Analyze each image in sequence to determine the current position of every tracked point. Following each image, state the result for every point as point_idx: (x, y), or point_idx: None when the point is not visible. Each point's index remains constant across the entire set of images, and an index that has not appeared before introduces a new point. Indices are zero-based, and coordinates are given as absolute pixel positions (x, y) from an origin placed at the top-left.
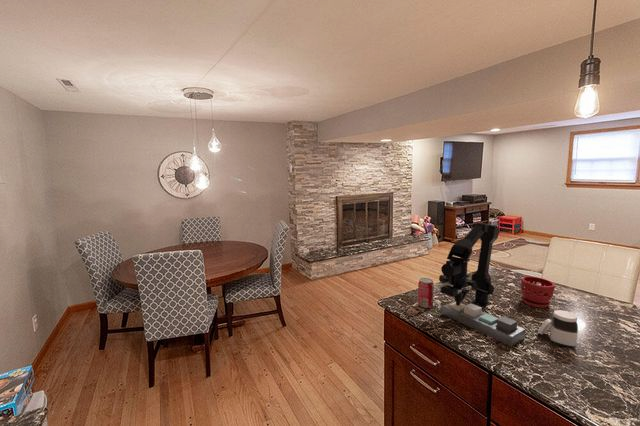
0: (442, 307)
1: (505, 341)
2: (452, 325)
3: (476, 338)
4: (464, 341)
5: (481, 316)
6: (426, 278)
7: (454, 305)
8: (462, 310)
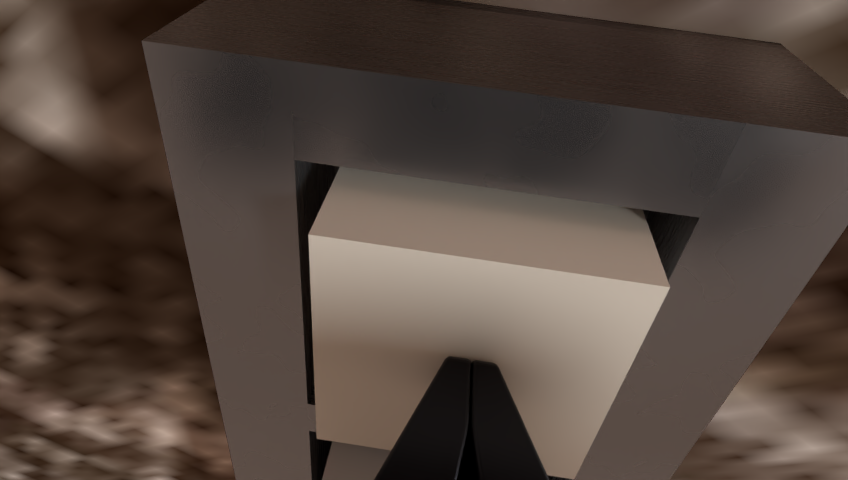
0: (168, 39)
1: None
2: (120, 277)
3: (163, 474)
4: (14, 435)
5: None
6: None
7: (357, 338)
8: None
